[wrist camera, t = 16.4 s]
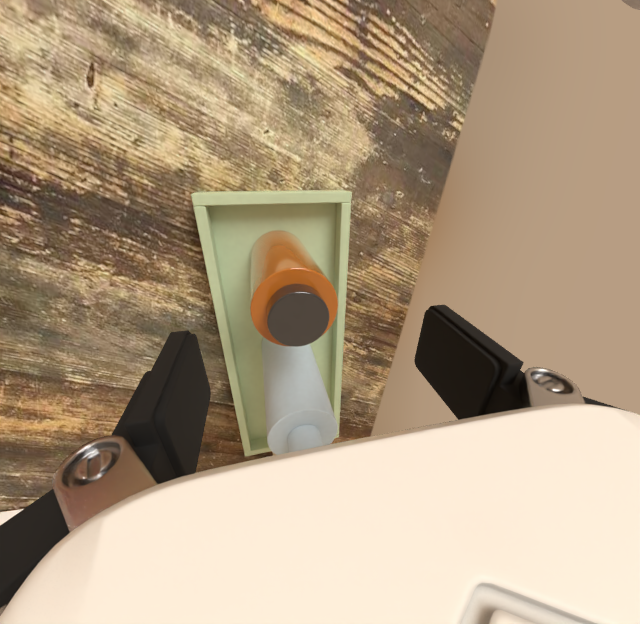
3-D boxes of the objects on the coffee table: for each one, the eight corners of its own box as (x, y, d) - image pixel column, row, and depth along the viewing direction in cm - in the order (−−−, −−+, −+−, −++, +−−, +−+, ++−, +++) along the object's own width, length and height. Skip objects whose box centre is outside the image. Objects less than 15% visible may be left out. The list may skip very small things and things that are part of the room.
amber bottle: (305, 228, 22) (347, 272, 13) (306, 281, 25) (342, 353, 15) (247, 231, 21) (244, 280, 12) (254, 286, 24) (256, 365, 14)
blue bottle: (307, 321, 27) (372, 490, 12) (308, 359, 29) (364, 539, 15) (258, 326, 26) (268, 516, 12) (263, 365, 28) (277, 565, 14)
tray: (195, 191, 20) (190, 193, 18) (343, 189, 22) (351, 191, 20) (245, 441, 33) (245, 456, 32) (334, 424, 36) (338, 437, 34)
